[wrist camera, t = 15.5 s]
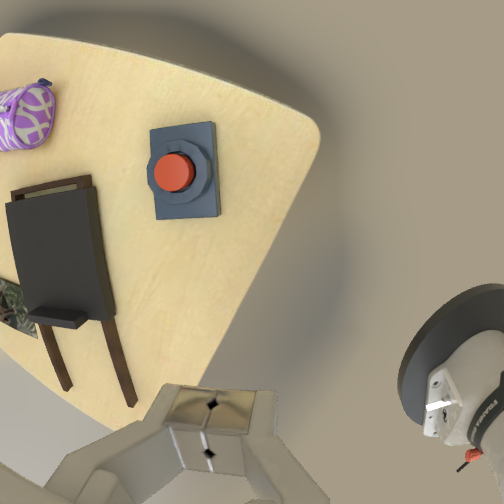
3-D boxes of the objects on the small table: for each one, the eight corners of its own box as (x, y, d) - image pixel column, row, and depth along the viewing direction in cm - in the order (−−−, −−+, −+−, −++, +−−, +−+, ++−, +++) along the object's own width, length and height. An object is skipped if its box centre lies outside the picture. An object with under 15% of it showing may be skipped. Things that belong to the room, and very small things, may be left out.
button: (195, 188, 31) (189, 189, 29) (162, 191, 31) (155, 192, 29) (193, 152, 30) (187, 151, 28) (159, 156, 30) (152, 156, 28)
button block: (221, 214, 34) (213, 219, 31) (162, 217, 35) (149, 223, 32) (215, 123, 31) (206, 118, 28) (155, 131, 32) (141, 128, 29)
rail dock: (138, 400, 44) (133, 408, 42) (69, 384, 46) (63, 390, 44) (91, 174, 35) (81, 175, 33) (19, 189, 37) (10, 191, 35)
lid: (116, 314, 39) (96, 332, 34) (35, 305, 41) (15, 319, 36) (95, 186, 34) (69, 191, 30) (14, 201, 37) (-10, 206, 32)
